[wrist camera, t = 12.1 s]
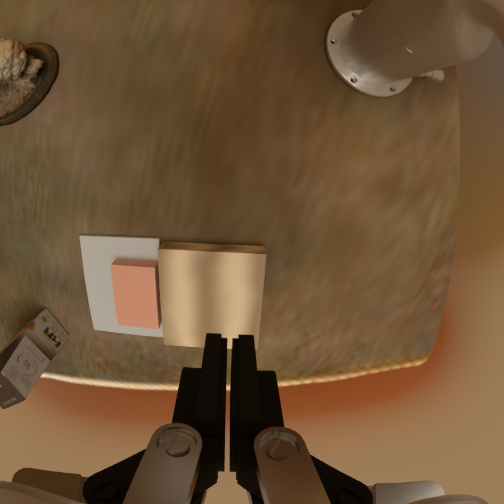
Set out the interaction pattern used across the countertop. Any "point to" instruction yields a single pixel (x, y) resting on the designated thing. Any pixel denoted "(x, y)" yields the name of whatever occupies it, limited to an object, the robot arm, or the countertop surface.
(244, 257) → the plate
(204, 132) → the countertop surface
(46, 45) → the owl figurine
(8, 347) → the coffee box
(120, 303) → the salmon pink rectangular block
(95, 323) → the mat
